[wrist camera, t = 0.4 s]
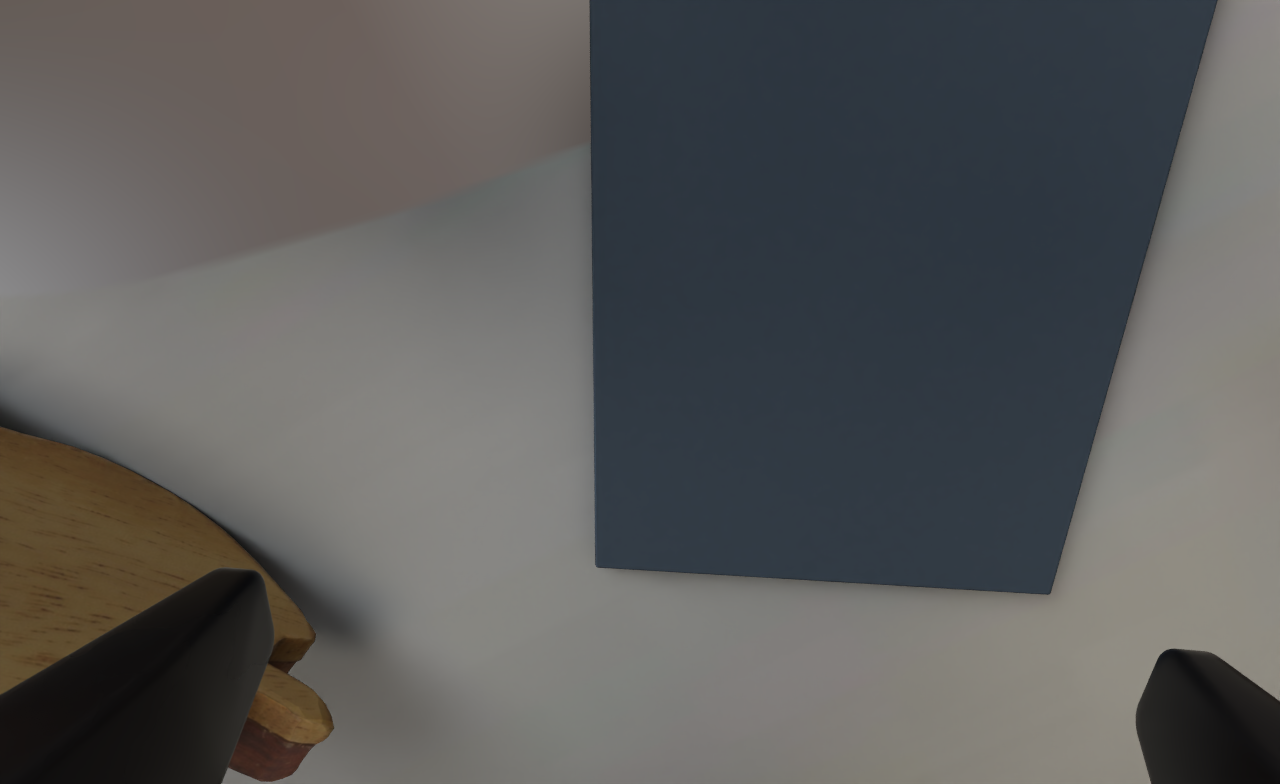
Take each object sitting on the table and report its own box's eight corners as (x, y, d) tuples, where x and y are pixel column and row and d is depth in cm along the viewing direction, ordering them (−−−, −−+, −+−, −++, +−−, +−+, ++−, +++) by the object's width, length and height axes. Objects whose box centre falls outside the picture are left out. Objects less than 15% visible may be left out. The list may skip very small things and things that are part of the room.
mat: (1043, 582, 26) (1051, 595, 25) (597, 555, 27) (595, 568, 26) (1276, -263, 17) (1295, -269, 16) (590, -264, 18) (586, -270, 17)
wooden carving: (-148, 423, 27) (-578, 667, 18) (-122, 303, 25) (-591, 508, 16) (355, 667, 30) (200, 980, 21) (412, 577, 28) (269, 879, 19)
